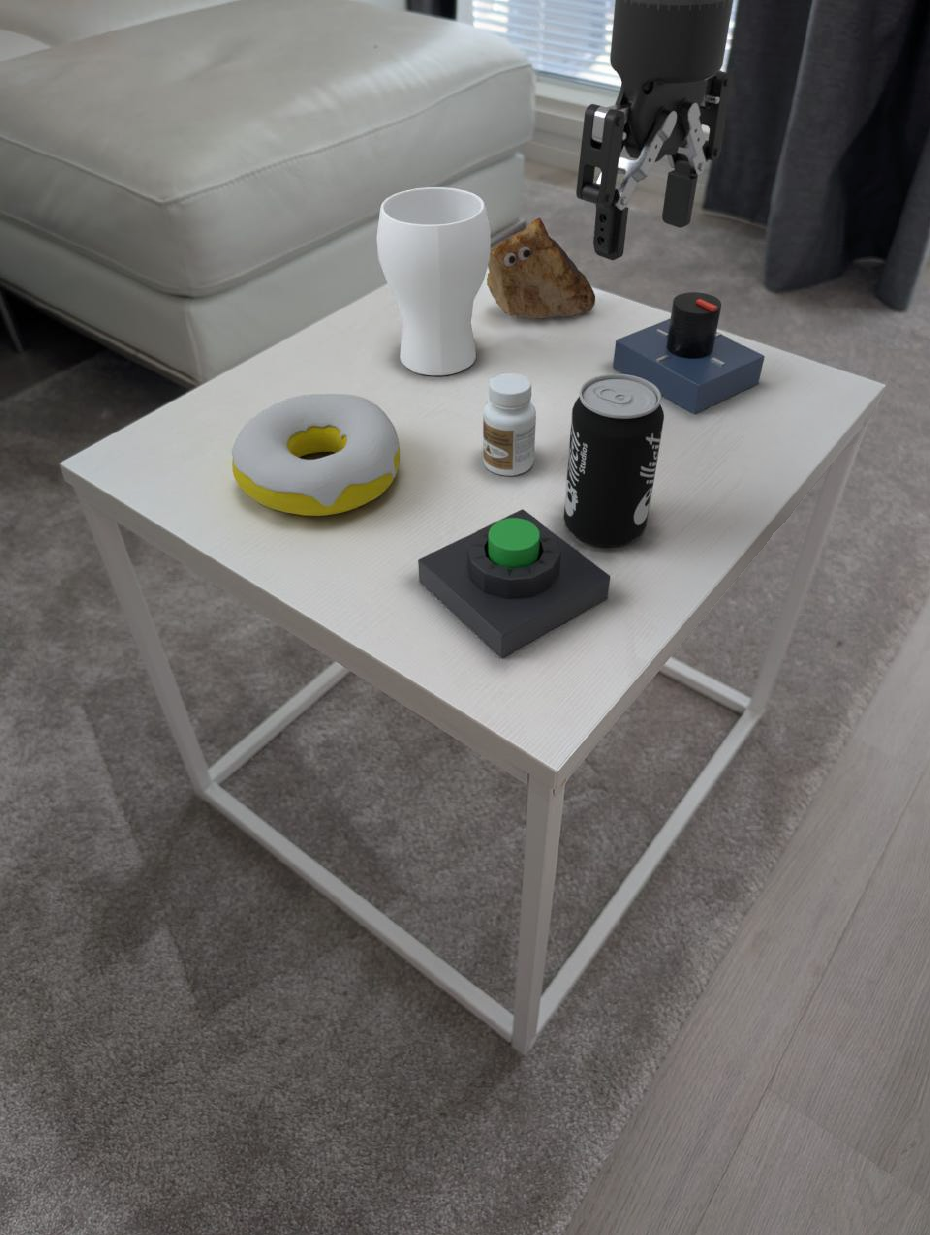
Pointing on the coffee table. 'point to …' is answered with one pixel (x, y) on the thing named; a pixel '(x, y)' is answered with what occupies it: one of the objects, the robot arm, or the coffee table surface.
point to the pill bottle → (509, 425)
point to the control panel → (688, 367)
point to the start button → (514, 543)
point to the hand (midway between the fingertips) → (642, 239)
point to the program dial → (693, 324)
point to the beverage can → (612, 459)
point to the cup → (435, 272)
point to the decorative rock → (537, 277)
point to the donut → (311, 427)
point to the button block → (513, 587)
